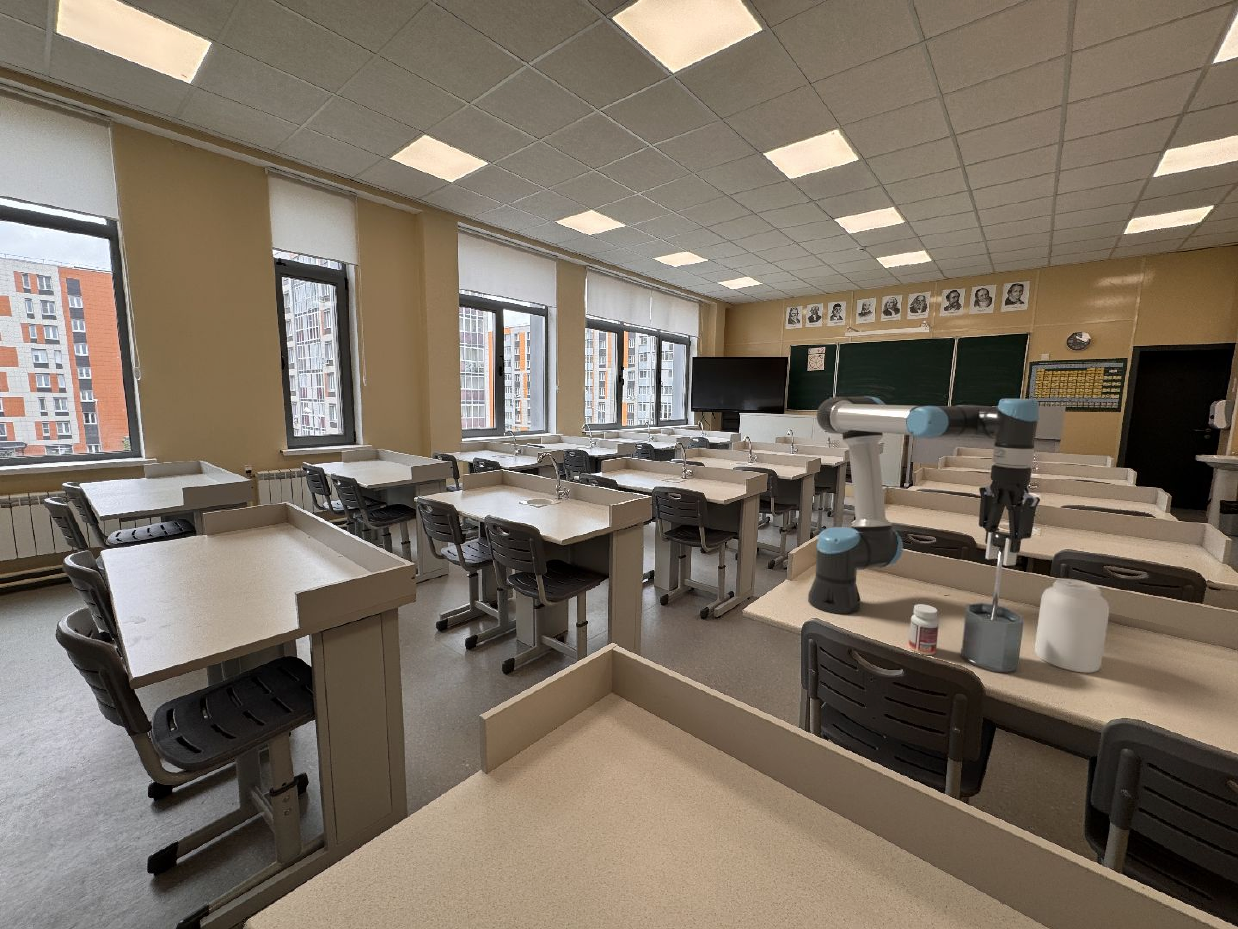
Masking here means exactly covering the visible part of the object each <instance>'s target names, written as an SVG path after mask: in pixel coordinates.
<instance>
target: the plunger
mask: <svg viewBox="0 0 1238 929" xmlns="http://www.w3.org/2000/svg"><path fill="white" fill-rule="evenodd" d="M1007 537H1010V532H1006V531H1002V530H1001V531H1000V530H999V531H995V532H993V538H992V545H993V546H996V547H999V549H998V557H997V564H996V571H995V580H994V589H993V597H992V612H991V614H977V615H979V616H981V617H983V618H985V619H990V620H995V621H1000V622H1005V623H1008V622H1011V621H1009V620H1007V619H1005V618H1002V617H999V616H996V613H997V606H999V605H998V603H999V597H1000V596H999V595H1000V587H1001V579H1002V571H1003V570H1002V569H1003V561H1004V552H1005V544H1006V538H1007Z"/></svg>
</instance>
